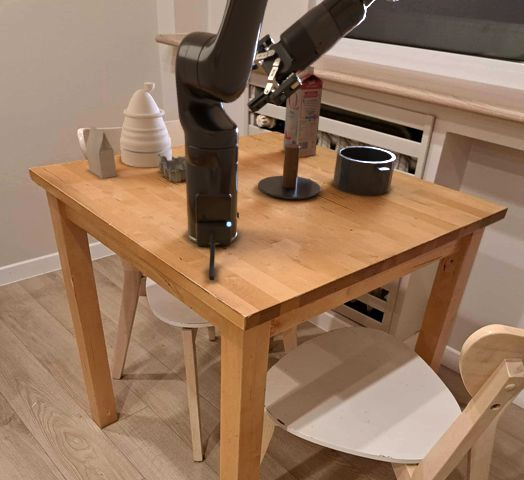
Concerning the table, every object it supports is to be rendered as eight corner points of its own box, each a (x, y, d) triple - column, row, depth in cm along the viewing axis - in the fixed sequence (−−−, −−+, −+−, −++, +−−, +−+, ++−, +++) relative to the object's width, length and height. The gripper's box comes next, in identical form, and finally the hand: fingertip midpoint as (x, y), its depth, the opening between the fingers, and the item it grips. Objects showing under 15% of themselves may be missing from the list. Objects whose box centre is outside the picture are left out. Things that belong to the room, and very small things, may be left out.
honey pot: (167, 151, 143) (163, 78, 132) (176, 166, 133) (172, 88, 122) (119, 153, 139) (111, 78, 129) (124, 168, 129) (116, 88, 119)
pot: (353, 201, 119) (358, 168, 114) (320, 174, 133) (323, 144, 129) (405, 197, 122) (412, 165, 118) (368, 172, 137) (373, 142, 132)
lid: (269, 203, 115) (272, 156, 109) (250, 181, 126) (251, 138, 120) (330, 199, 119) (335, 153, 113) (306, 178, 130) (310, 136, 124)
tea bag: (102, 178, 123) (96, 133, 117) (89, 170, 127) (83, 127, 121) (116, 175, 125) (111, 131, 119) (103, 168, 129) (98, 125, 123)
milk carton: (295, 157, 145) (302, 67, 132) (283, 150, 149) (289, 63, 136) (315, 154, 147) (324, 66, 134) (302, 148, 152) (310, 62, 139)
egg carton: (157, 169, 130) (156, 152, 128) (186, 167, 133) (185, 150, 130) (169, 183, 122) (168, 165, 120) (200, 180, 125) (199, 163, 123)
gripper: (287, 0, 97) (218, 59, 101) (320, 45, 91) (246, 106, 96) (302, 30, 103) (237, 85, 108) (334, 74, 98) (264, 130, 102)
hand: (241, 94), depth 102 cm, fingers open, 8 cm apart
